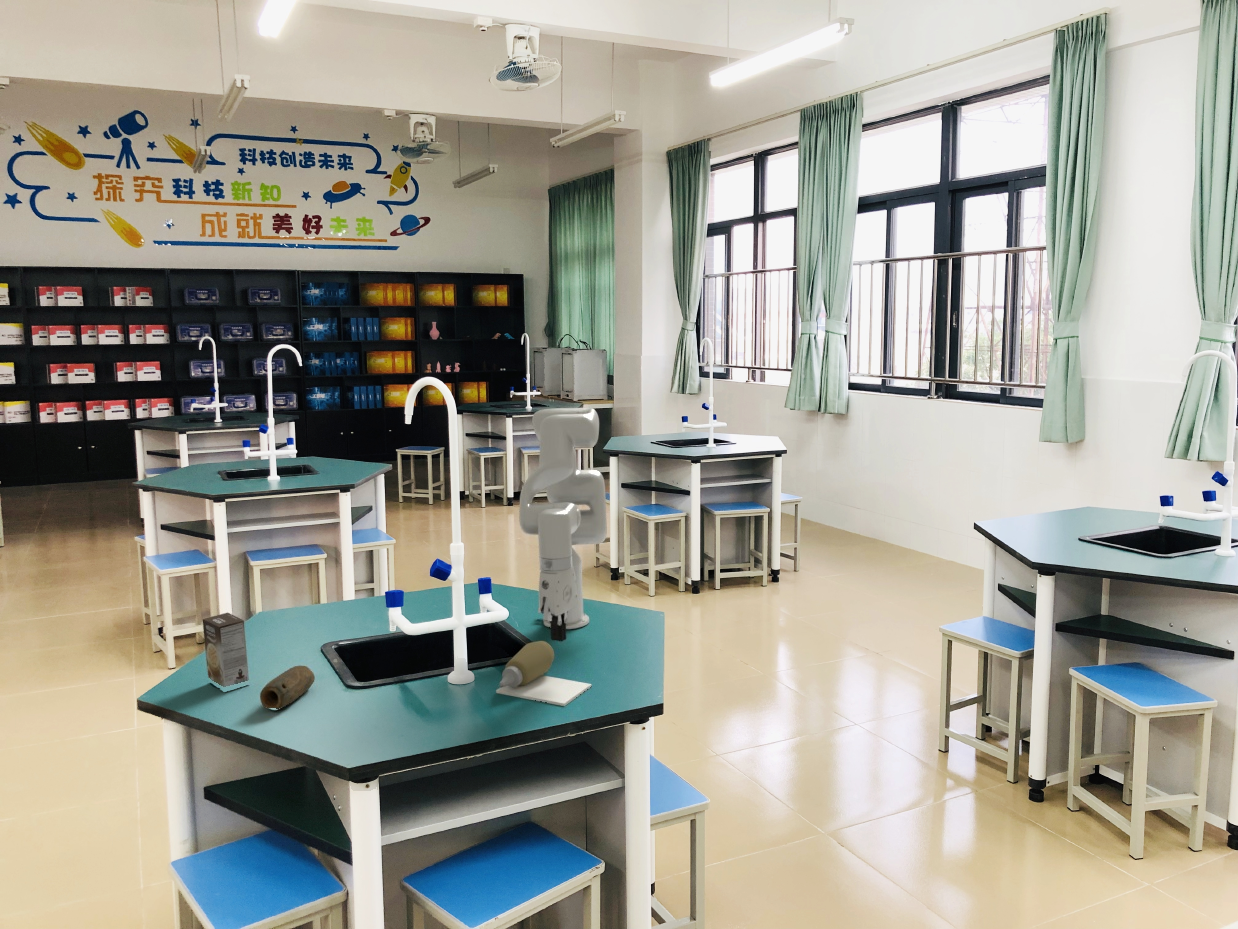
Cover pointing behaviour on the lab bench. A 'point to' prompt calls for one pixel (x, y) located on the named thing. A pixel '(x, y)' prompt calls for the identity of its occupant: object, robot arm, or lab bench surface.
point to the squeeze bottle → (528, 664)
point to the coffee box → (225, 649)
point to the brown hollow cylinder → (287, 687)
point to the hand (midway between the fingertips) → (558, 639)
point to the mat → (548, 690)
